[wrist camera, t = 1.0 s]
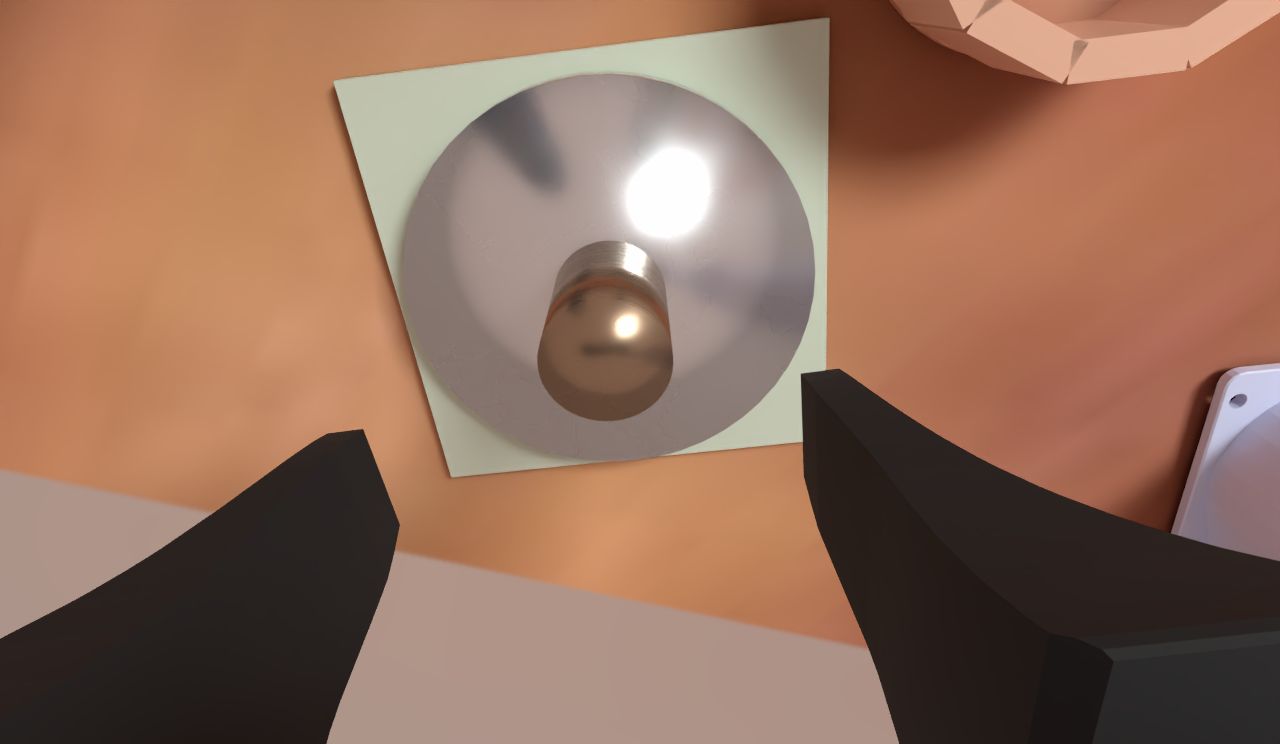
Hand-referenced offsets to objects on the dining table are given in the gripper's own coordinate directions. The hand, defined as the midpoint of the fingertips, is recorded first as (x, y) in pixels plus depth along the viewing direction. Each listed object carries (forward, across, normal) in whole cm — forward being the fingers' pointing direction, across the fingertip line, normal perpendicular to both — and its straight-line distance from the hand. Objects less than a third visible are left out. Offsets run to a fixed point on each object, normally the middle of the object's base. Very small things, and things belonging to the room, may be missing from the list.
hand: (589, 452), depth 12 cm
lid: (+9, 0, +1) cm, 9 cm away
